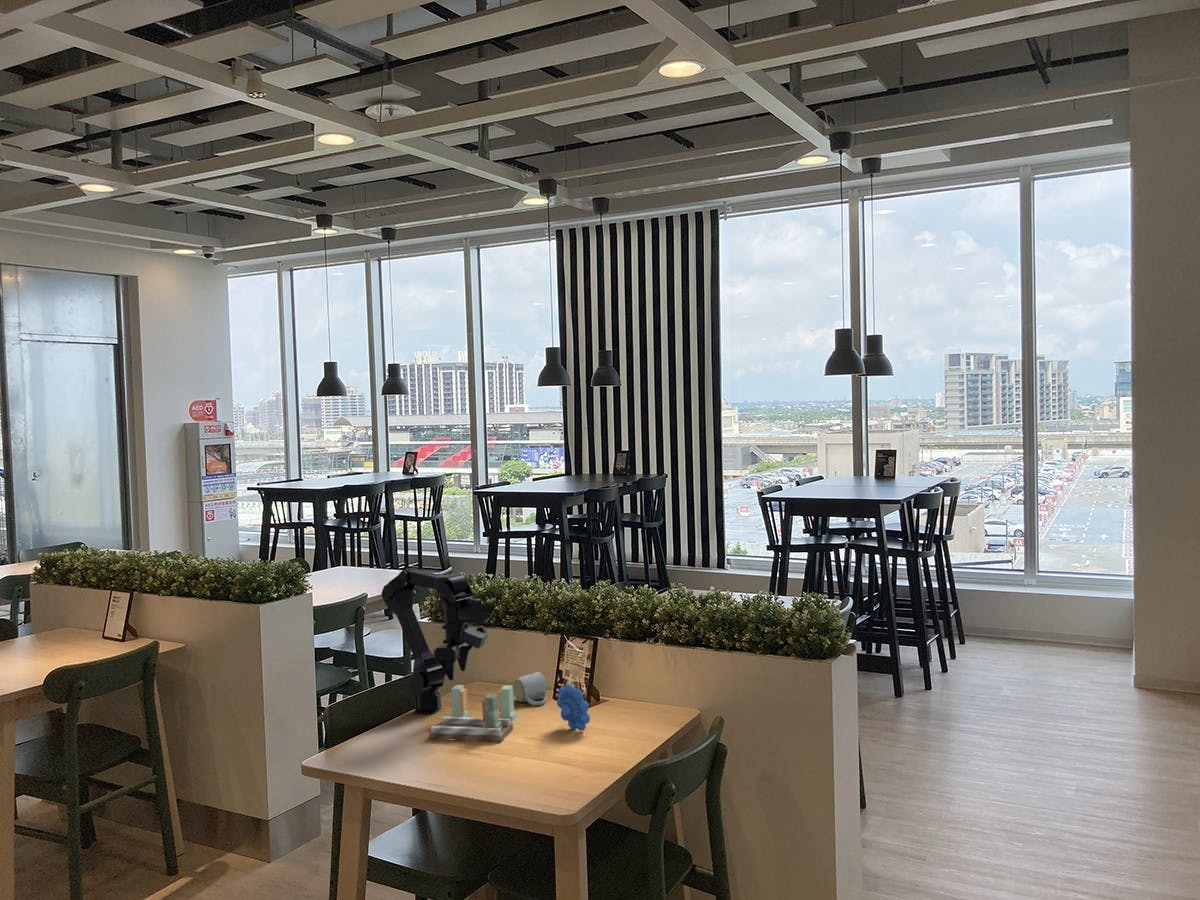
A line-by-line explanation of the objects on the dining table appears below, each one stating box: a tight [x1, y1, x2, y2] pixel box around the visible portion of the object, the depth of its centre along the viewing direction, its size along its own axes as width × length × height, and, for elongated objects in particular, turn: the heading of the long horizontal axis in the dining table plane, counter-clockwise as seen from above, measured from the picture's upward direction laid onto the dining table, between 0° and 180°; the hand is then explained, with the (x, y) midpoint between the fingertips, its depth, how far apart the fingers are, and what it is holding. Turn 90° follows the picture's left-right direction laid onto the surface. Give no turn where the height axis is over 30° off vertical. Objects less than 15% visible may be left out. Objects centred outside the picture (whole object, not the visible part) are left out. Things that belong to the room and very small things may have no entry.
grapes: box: [556, 683, 591, 732], centre depth 257 cm, size 12×7×12 cm, turn 46°
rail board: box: [428, 693, 514, 743], centre depth 257 cm, size 20×10×10 cm, turn 77°
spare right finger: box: [497, 684, 518, 722], centre depth 268 cm, size 4×4×9 cm
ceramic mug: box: [512, 671, 548, 707], centre depth 284 cm, size 11×8×8 cm
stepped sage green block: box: [449, 684, 469, 717], centre depth 271 cm, size 4×4×9 cm
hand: (457, 675), depth 270 cm, fingers open, 9 cm apart
